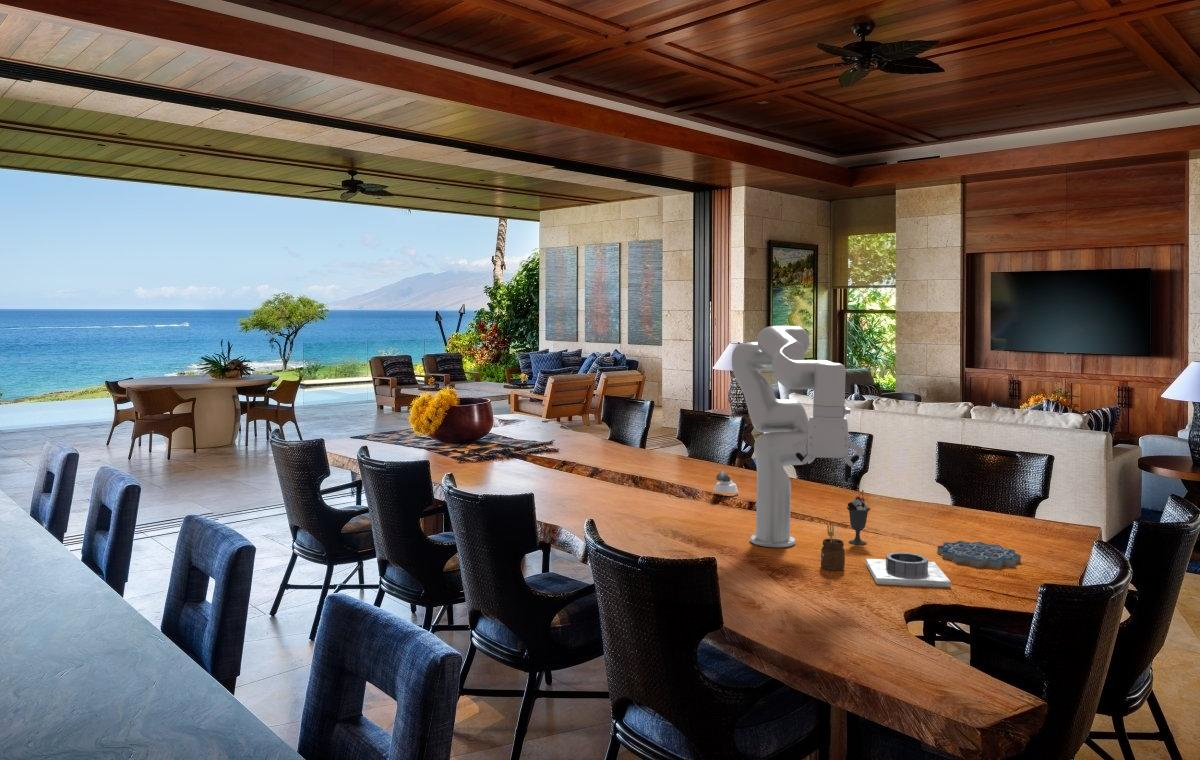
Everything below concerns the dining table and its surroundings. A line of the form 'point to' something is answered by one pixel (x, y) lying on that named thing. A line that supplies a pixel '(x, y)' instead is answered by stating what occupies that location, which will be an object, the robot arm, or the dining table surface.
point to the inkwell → (725, 484)
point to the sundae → (858, 517)
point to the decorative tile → (979, 554)
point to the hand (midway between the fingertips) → (826, 480)
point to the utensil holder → (832, 552)
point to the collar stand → (907, 571)
